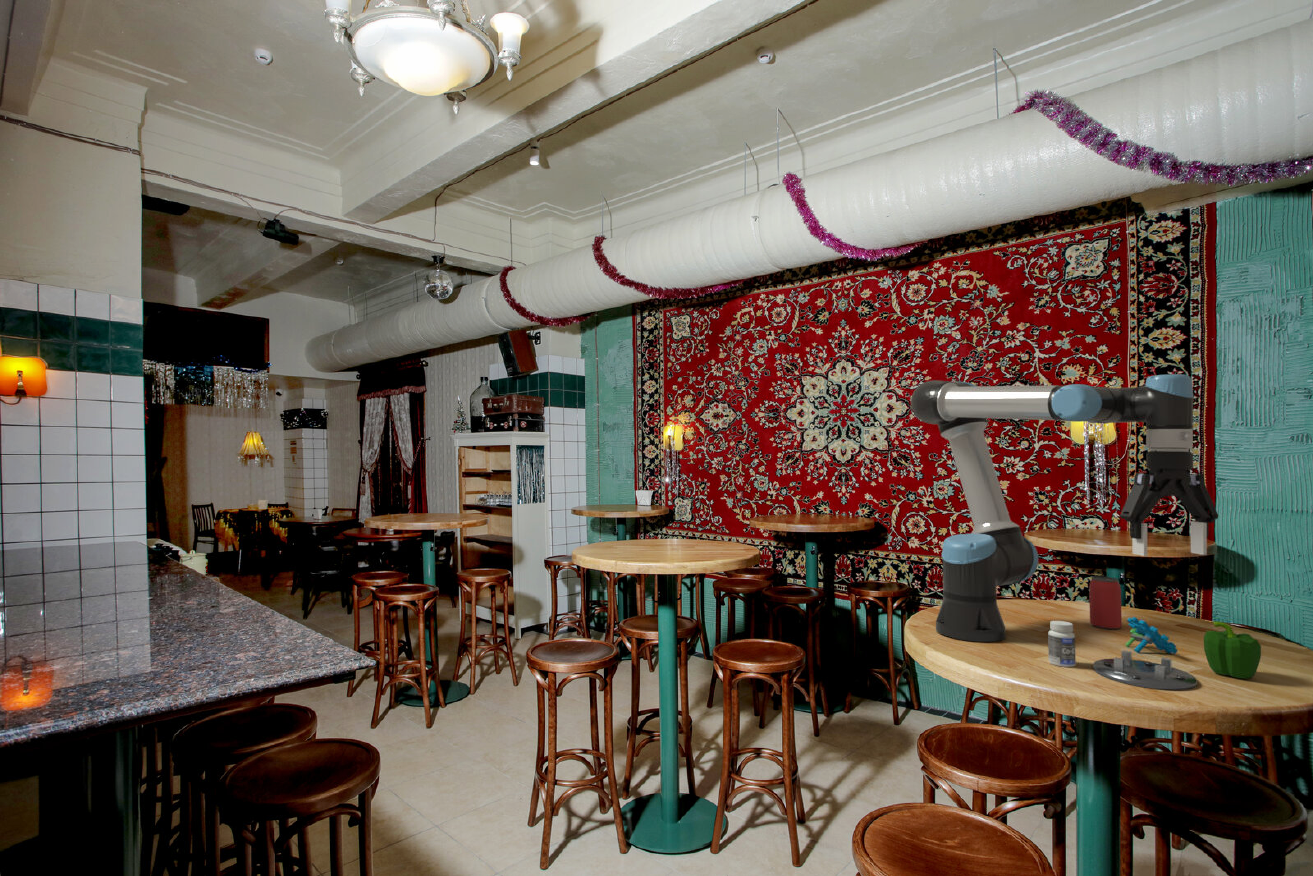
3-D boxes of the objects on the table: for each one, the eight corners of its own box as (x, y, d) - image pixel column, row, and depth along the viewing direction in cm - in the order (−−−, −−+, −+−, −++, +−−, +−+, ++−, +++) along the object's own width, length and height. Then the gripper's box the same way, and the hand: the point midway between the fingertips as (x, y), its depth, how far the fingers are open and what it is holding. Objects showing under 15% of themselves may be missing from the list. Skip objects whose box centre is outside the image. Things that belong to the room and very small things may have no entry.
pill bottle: (1065, 668, 130) (1064, 626, 131) (1043, 662, 135) (1042, 621, 135) (1081, 665, 132) (1080, 624, 132) (1058, 659, 137) (1057, 619, 137)
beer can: (1084, 622, 166) (1083, 575, 166) (1112, 623, 165) (1111, 576, 166) (1098, 629, 160) (1097, 580, 160) (1127, 630, 159) (1126, 581, 159)
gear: (1190, 653, 135) (1149, 617, 137) (1170, 673, 135) (1129, 636, 137) (1157, 645, 146) (1119, 612, 148) (1139, 664, 146) (1101, 630, 148)
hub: (1083, 675, 126) (1083, 658, 126) (1104, 657, 137) (1104, 642, 138) (1189, 697, 115) (1188, 678, 115) (1202, 675, 126) (1201, 659, 126)
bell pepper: (1268, 677, 125) (1266, 624, 125) (1254, 685, 121) (1252, 631, 121) (1213, 665, 132) (1212, 616, 132) (1197, 672, 128) (1196, 621, 128)
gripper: (1130, 450, 127) (1130, 558, 127) (1241, 450, 131) (1241, 556, 130) (1099, 449, 135) (1099, 552, 135) (1204, 450, 138) (1205, 550, 138)
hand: (1169, 554), depth 132 cm, fingers open, 13 cm apart
